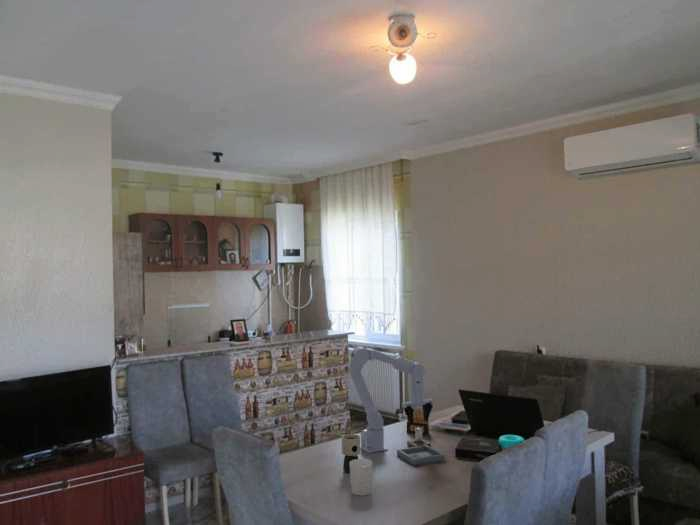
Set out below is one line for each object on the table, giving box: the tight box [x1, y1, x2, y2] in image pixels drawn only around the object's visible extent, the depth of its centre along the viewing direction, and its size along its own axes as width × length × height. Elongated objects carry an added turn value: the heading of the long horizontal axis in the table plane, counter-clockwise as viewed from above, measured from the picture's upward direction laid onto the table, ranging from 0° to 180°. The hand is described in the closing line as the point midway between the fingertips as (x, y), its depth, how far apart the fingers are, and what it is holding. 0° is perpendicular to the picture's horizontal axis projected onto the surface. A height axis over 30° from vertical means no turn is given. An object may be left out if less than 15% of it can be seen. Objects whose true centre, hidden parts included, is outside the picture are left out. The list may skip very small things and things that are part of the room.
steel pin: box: [414, 427, 423, 444], centre depth 239 cm, size 3×3×8 cm
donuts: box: [498, 434, 526, 449], centre depth 216 cm, size 10×10×10 cm
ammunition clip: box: [406, 407, 430, 436], centre depth 259 cm, size 11×2×12 cm, turn 62°
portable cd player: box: [454, 437, 503, 461], centre depth 229 cm, size 16×17×4 cm
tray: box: [396, 445, 446, 467], centre depth 224 cm, size 14×14×2 cm
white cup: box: [349, 458, 373, 496], centre depth 190 cm, size 8×8×10 cm
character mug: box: [341, 434, 361, 473], centre depth 211 cm, size 11×7×13 cm, turn 145°
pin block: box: [406, 438, 432, 448], centre depth 239 cm, size 8×8×2 cm
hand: (418, 422), depth 239 cm, fingers open, 7 cm apart
